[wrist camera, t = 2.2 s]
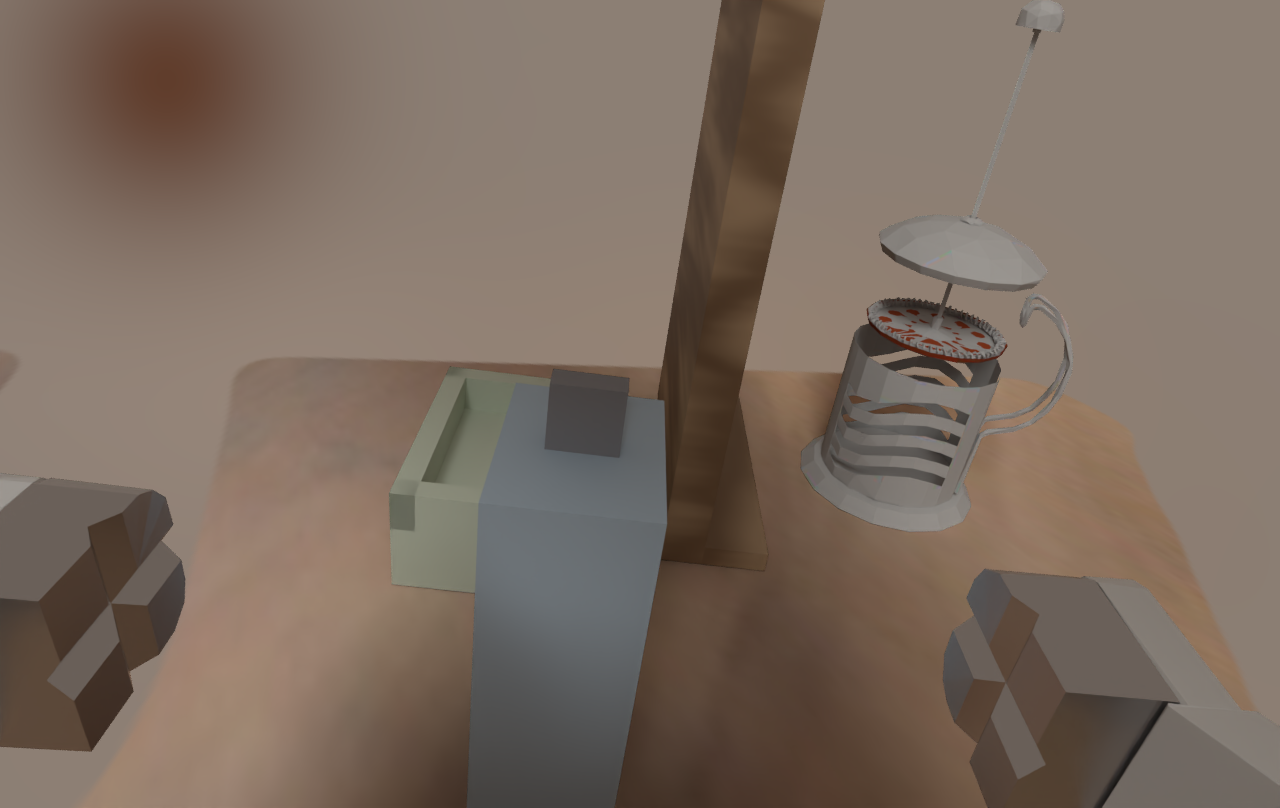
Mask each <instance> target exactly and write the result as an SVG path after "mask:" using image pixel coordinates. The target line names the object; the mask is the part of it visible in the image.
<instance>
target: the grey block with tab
mask: <svg viewBox="0 0 1280 808" xmlns="http://www.w3.org/2000/svg"><path fill="white" fill-rule="evenodd" d="M628 392H629V378H625V377H616V376H608V375H600V374H592V373H584V372H576V371H567V370H559V369H553V372H552V377H551V381H550V387H547V386H539V385H531V384H522V383H516V385H515V388H514V391H513V394H512V397H511V401H510V404H509V407H508V410H507V413H506V417H505V420H504V423H503V426H502V429H501V433H500V436H499V439H498V442H497V445H496V449H495V452H494V455H493V458H492V461H491V465H490V468H489V471H488V474H487V477H486V481H485V484H484V487H483V490H482V493H481V497H480V500H479V503H478V529H477V555H476V581H475V607H474V632H473V658H472V684H471V710H470V736H469V762H468V788H467V808H615V803H616V797H617V792H618V786H619V781H620V776H621V770H622V765H623V759H624V754H625V749H626V743H627V738H628V733H629V727H630V722H631V716H632V711H633V706H634V700H635V695H636V689H637V684H638V679H639V673H640V668H641V663H642V657H643V652H644V646H645V641H646V636H647V630H648V625H649V619H650V614H651V609H652V603H653V598H654V593H655V587H656V582H657V576H658V571H659V566H660V560H661V555H662V549H663V544H664V539H665V533H666V528H667V495H666V451H665V408H664V401H663V400H654V399H646V398H638V397H630V396H628Z"/></svg>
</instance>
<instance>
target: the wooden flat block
mask: <svg viewBox="0 0 1280 808" xmlns="http://www.w3.org/2000/svg"><path fill="white" fill-rule="evenodd" d="M824 2H825V0H722V2H721V8H720V14H719V21H718V27H717V33H716V39H715V45H714V51H713V57H712V64H711V70H710V76H709V82H708V88H707V95H706V101H705V107H704V113H703V119H702V125H701V131H700V138H699V144H698V150H697V157H696V162H695V168H694V175H693V181H692V187H691V193H690V200H689V206H688V212H687V218H686V224H685V230H684V237H683V243H682V249H681V255H680V261H679V267H678V273H677V280H676V286H675V292H674V298H673V304H672V311H671V317H670V323H669V329H668V335H667V342H666V347H665V354H664V360H663V366H662V372H661V378H660V384H659V391H658V400H663V401H664V408H665V451H666V495H667V528H666V533H665V539H664V544H663V549H662V555H661V560H670V561H679V562H688V563H697V564H706V565H715V566H724V567H733V568H742V569H751V570H760V571H764V570H765V566H766V562H767V559H768V555H769V554H768V549H767V544H766V538H765V533H764V528H763V522H762V517H761V512H760V506H759V501H758V496H757V490H756V485H755V480H754V474H753V469H752V463H751V458H750V453H749V447H748V442H747V437H746V431H745V426H744V421H743V415H742V410H741V405H740V399H739V391H740V386H741V381H742V377H743V372H744V368H745V363H746V359H747V354H748V349H749V345H750V340H751V336H752V331H753V326H754V322H755V317H756V313H757V308H758V303H759V299H760V295H761V290H762V285H763V281H764V276H765V272H766V267H767V263H768V258H769V253H770V249H771V244H772V239H773V235H774V231H775V226H776V221H777V217H778V212H779V207H780V203H781V198H782V194H783V190H784V185H785V180H786V176H787V171H788V167H789V162H790V158H791V153H792V148H793V144H794V139H795V135H796V130H797V125H798V121H799V116H800V112H801V107H802V102H803V98H804V94H805V89H806V85H807V80H808V75H809V71H810V66H811V62H812V57H813V52H814V48H815V43H816V39H817V34H818V30H819V25H820V21H821V16H822V12H823V7H824Z"/></svg>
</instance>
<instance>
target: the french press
mask: <svg viewBox="0 0 1280 808" xmlns="http://www.w3.org/2000/svg"><path fill="white" fill-rule="evenodd" d="M1063 23H1064V11H1063V9H1062V7H1061V5H1060V4H1058V3H1056V2H1053V1H1051V0H1033V1H1031V2H1030V3H1029V4H1027V5H1026V6H1025V7H1023V8H1022V10H1021V12H1020V15H1019V17H1018V20H1017V23H1016V25H1018V26H1023V27H1028V28H1033V32H1034V35H1033V38H1032V41H1031V44H1030V47H1029V50H1028V53H1027V56H1026V59H1025V61H1024V64H1023V67H1022V70H1021V73H1020V76H1019V79H1018V82H1017V85H1016V88H1015V91H1014V94H1013V96H1012V99H1011V102H1010V105H1009V108H1008V111H1007V114H1006V117H1005V120H1004V123H1003V126H1002V128H1001V131H1000V134H999V137H998V140H997V143H996V146H995V149H994V152H993V155H992V158H991V161H990V163H989V166H988V169H987V173H986V175H985V178H984V181H983V184H982V187H981V190H980V193H979V196H978V199H977V202H976V204H975V207H974V210H973V213H972V215H968V216H965V217H961V216H947V215H929V216H919V217H915V218H912V219H908V220H906V221H903V222H900V223H897V224H894V225H891V226H889V227H887V228H885V229H884V230H882V231H880V234H879V235H880V243H881V246H882V251H883V252H884V253H885V254H887V255H888V256H889V257H890V258H892V259H893V260H894V261H895V262H897V263H899V264H901V265H903V266H905V267H907V268H910V269H912V270H914V271H916V272H918V273H920V274H923V275H927V276H930V277H933V278H936V279H939V280H942V281H946V282H949V283H948V286H947V289H946V292H945V295H944V298H943V301H942V303H941V305H940V303H937V304H934V303H933V302H930V303H928V301H927V300H925V301H924V302H922V300H921V299H919V300H918V301H916V299H915V298H913V299H910V298H907V299H904V298H902V299H900V298H899V297H898V298H897V299H890V298H889V299H884V300H879V301H877V302H875V303H874V304H872V305H871V306H870V307H869V308H867V316H868V320H869V324H866V325H863V326H860V327H859V329H858V330H856V332H855V333H854V337H853V340H852V344H851V347H850V351H849V354H848V358H847V361H846V364H845V368H844V371H843V375H842V378H841V382H840V385H839V388H838V392H837V395H836V399H835V402H834V406H833V409H832V412H831V416H830V419H829V423H828V426H827V430H826V433H825V435H823V436H820V437H818V438H815V439H813V440H812V441H811V442H810V443H809V444H808V445H807V446H806V447H805V448H804V449H803V450H802V451H801V470H802V471H803V473H804V475H805V476H806V478H807V479H808V481H809V483H810V484H811V486H812V487H813V489H814V490H816V491H817V492H818V493H819V494H821V495H822V496H823V497H825V498H826V499H827V500H828V501H830V502H831V503H832V504H833V505H835V506H836V507H837V508H839V509H841V510H843V511H845V512H848V513H850V514H852V515H854V516H856V517H858V518H861V519H863V520H865V521H867V522H869V523H872V524H876V525H880V526H885V527H889V528H894V529H898V530H903V531H907V532H919V531H942V530H944V529H946V528H949V527H951V526H953V525H956V524H958V523H960V522H963V520H964V518H965V516H966V515H967V513H968V511H969V509H970V507H971V503H970V500H969V496H968V492H967V489H966V486H965V485H964V483H963V482H964V479H965V477H966V475H967V472H968V470H969V467H970V465H971V462H972V460H973V458H974V455H975V453H976V450H977V448H978V445H979V443H980V440H981V438H982V437H984V436H987V435H991V434H1000V433H1008V432H1014V431H1017V430H1019V429H1022V428H1024V427H1027V426H1029V425H1031V424H1034V423H1035V422H1036V421H1038V420H1039V419H1040V418H1042V417H1043V416H1044V415H1046V414H1047V413H1048V412H1049V411H1050V410H1051V409H1052V407H1053V406H1054V405H1055V404H1056V402H1057V401H1058V400H1059V399H1060V398H1061V396H1062V394H1063V391H1064V389H1065V387H1066V385H1067V382H1068V380H1069V378H1070V375H1071V373H1072V364H1073V353H1072V346H1071V340H1070V337H1069V330H1068V325H1067V323H1066V322H1065V320H1064V318H1063V317H1062V315H1061V313H1060V312H1059V311H1058V310H1057V309H1056V308H1055V307H1054V306H1053V305H1052V304H1051V303H1050V302H1049V301H1048V300H1047V299H1046V298H1045V297H1044V296H1043V295H1039V294H1032V295H1030V296H1029V297H1028V298H1026V301H1025V303H1024V306H1023V308H1022V311H1021V314H1020V325H1021V327H1022V328H1023V327H1025V326H1026V324H1027V322H1028V319H1029V318H1030V316H1031V314H1032V312H1033V310H1041V311H1042V312H1043V313H1044V314H1045V315H1046V316H1048V317H1049V318H1050V319H1051V320H1052V321H1053V322H1054V323H1055V324H1056V325H1057V327H1058V329H1059V331H1060V333H1061V335H1062V336H1063V338H1064V342H1065V348H1064V359H1063V361H1062V364H1061V367H1060V369H1059V372H1058V375H1057V377H1056V380H1055V382H1054V383H1053V384H1052V385H1051V386H1050V387H1049V388H1048V390H1047V391H1046V392H1045V393H1044V394H1043V395H1042V396H1041V397H1040V398H1039V399H1038V400H1036V401H1035V402H1034V403H1033V404H1032V405H1031V406H1030V407H1027V408H1025V409H1022V410H1019V411H1017V412H1014V413H1010V414H1001V415H992V416H987V417H985V415H986V412H987V410H988V407H989V405H990V402H991V400H992V397H993V395H994V392H995V390H996V387H997V385H998V382H999V380H1000V378H999V380H998V382H997V379H998V377H999V374H1000V372H1001V368H1000V366H999V363H998V360H996V359H997V358H998V357H999V356H1001V355H1002V354H1003V352H1004V351H1005V349H1006V348H1007V344H1006V342H1005V340H1004V338H1003V336H1002V334H1001V333H999V330H997V331H996V328H994V327H992V326H991V325H990V324H989V323H988V322H986V323H984V321H985V320H983V319H982V320H981V321H980V320H979V317H977V318H974V315H972V316H970V315H968V313H963V310H962V311H961V312H960V311H957V309H955V310H954V309H951V306H949V308H947V307H945V305H946V302H947V299H948V296H949V294H950V290H951V288H952V285H953V284H957V285H963V286H967V287H973V288H978V289H983V290H996V291H1012V292H1013V291H1020V290H1025V289H1032V288H1034V287H1035V286H1036V285H1037V284H1038V283H1039V282H1040V281H1041V280H1042V279H1043V278H1044V277H1045V275H1046V274H1047V272H1048V271H1047V270H1046V268H1045V267H1044V266H1043V264H1042V263H1041V262H1040V260H1039V259H1038V258H1037V256H1036V255H1035V253H1034V252H1033V251H1032V249H1031V248H1030V247H1028V246H1027V245H1025V244H1024V243H1022V242H1021V241H1019V240H1018V239H1016V238H1015V237H1013V236H1012V235H1011V234H1009V233H1007V232H1006V231H1005V230H1003V229H1002V228H1000V227H998V226H994V225H991V224H988V223H984V222H983V221H982V220H981V219H980V218H978V217H976V215H977V212H978V209H979V206H980V203H981V200H982V198H983V195H984V192H985V189H986V186H987V183H988V180H989V177H990V175H991V172H992V169H993V166H994V163H995V160H996V157H997V154H998V151H999V148H1000V146H1001V143H1002V140H1003V137H1004V134H1005V131H1006V128H1007V125H1008V122H1009V119H1010V116H1011V114H1012V111H1013V108H1014V105H1015V102H1016V99H1017V96H1018V93H1019V90H1020V87H1021V85H1022V82H1023V79H1024V76H1025V73H1026V70H1027V67H1028V64H1029V61H1030V58H1031V55H1032V53H1033V50H1034V47H1035V44H1036V41H1037V38H1038V35H1039V33H1040V32H1041V30H1047V31H1054V32H1060V31H1061V28H1062V26H1063ZM1033 299H1039V300H1041V301H1042V302H1043V303H1044V304H1045V305H1046V306H1048V307H1049V308H1050V309H1051V310H1052V311H1053V312H1054V314H1055V316H1056V317H1055V316H1054V315H1053V314H1052V313H1051V312H1050V311H1049V310H1048V309H1047V308H1046V307H1045V306H1044V305H1037V304H1034V305H1032V306H1031V307H1030V305H1031V302H1032V300H1033ZM932 303H933V304H932ZM907 349H908V350H910V351H913V352H916V353H918V354H921V355H924V356H918V357H912V358H907V359H902V360H899V361H895V362H890V363H886V364H879V363H878V362H876V361H874V360H872V359H871V358H869V357H868V356H871V357H872V356H878V355H884V354H890V353H894V352H899V351H903V350H907ZM925 356H926V357H925ZM944 360H947V361H952V362H956V363H965V364H966V365H967V367H968V368H969V369H970V370H971V372H972V373H973V377H972V379H971V382H970V384H969V382H968V381H967V380H966V378H965V377H964V376H963V375H962V373H961V372H960V371H959V370H957V369H956V368H954V367H953V366H951V365H950V364H948V363H947V362H946V361H944ZM910 367H922V368H930V369H938V370H940V371H941V372H942V373H944V374H945V375H947V376H948V377H950V378H951V379H952V380H954V381H955V382H956V383H957V384H958V386H959V387H951V386H945V385H943V384H942V383H941V382H939V381H938V380H936V379H935V378H929V377H923V376H917V375H912V376H905V375H903V374H900V373H897V372H895V371H897V370H901V369H906V368H910ZM1064 371H1065V375H1064V377H1063V379H1062V381H1061V383H1060V385H1059V386H1058V384H1059V382H1060V379H1061V378H1062V375H1063V373H1064ZM996 382H997V383H996ZM1057 386H1058V388H1057V390H1056V392H1055V394H1054V396H1053V398H1052V400H1051V402H1050V403H1049V404H1048V405H1047V406H1046V407H1045V408H1043V409H1042V410H1041V411H1040V412H1039V413H1038V414H1037V415H1036V416H1035V417H1034V418H1033V419H1031V420H1030V421H1028V422H1025V423H1023V424H1020V425H1017V426H1015V427H1007V428H997V429H987V430H985V431H983V432H981V433H979V431H980V429H981V427H982V425H983V424H984V423H985V422H987V421H995V420H1003V419H1011V418H1015V417H1018V416H1020V415H1023V414H1025V413H1028V412H1030V411H1033V410H1034V409H1035V408H1036V407H1037V406H1039V405H1040V404H1041V403H1042V402H1043V401H1044V400H1045V399H1047V398H1048V396H1049V395H1050V394H1051V393H1052V392H1053V391H1054V390H1055V388H1056V387H1057ZM848 396H859V397H862V398H865V399H868V400H871V401H869V402H864V403H858V404H852V403H851V401H850V399H849V397H848ZM901 404H909V405H914V406H920V407H925V408H926V409H928V410H929V411H930V412H932V413H933V414H934V415H929V414H911V413H905V412H899V413H894V414H873V413H871V412H868V411H872V410H876V409H880V408H885V407H889V406H895V405H901ZM938 404H939V405H943V406H946V407H950V408H954V410H955V411H956V412H957V414H958V416H957V418H956V421H953V419H952V418H951V417H950V415H949V414H948V413H947V411H946V410H945V409H943V408H942V407H941V406H939V405H938ZM843 414H848V415H849V417H850V418H852V419H855V420H857V421H852V422H844V419H843V417H842V416H843ZM935 415H936V416H935ZM984 417H985V418H984ZM940 430H943V431H947V432H950V433H951V434H950V437H949V439H948V440H947V439H946V437H945V436H944V435H943V433H942V432H941V431H940Z"/></svg>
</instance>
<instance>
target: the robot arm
mask: <svg viewBox="0 0 1280 808" xmlns="http://www.w3.org/2000/svg"><path fill="white" fill-rule="evenodd" d="M172 526H173V522H172V518H171V514H170V511H169V507H168V504H167V500H166V498H165V497H164V496H162V495H161V494H159V493H157V492H155V491H154V490H148V489H140V488H132V487H123V486H115V485H106V484H98V483H88V482H80V481H72V480H63V479H55V478H50V479H45V478H40V477H31V476H21V475H13V474H4V473H0V747H14V748H32V749H51V750H70V751H72V750H73V751H89V752H90V751H92V750H93V749H94V747H95V746H96V744H97V743H98V741H99V740H100V739H101V737H102V736H103V734H104V733H105V731H106V730H107V729H108V727H109V726H110V724H111V723H112V721H113V720H114V719H115V717H116V716H117V714H118V713H119V711H120V710H121V709H122V707H123V706H124V704H125V703H126V702H127V700H128V699H129V697H130V696H131V694H132V693H133V686H132V680H131V675H130V671H131V670H133V669H134V668H136V667H138V666H140V665H142V664H143V663H145V662H147V661H148V660H150V659H152V658H154V657H155V656H157V655H159V654H160V652H161V651H162V649H163V648H164V646H165V645H166V643H167V642H168V640H169V639H170V637H171V636H172V634H173V633H174V631H175V629H176V626H177V623H178V620H179V617H180V614H181V611H182V608H183V605H184V599H185V575H184V571H183V566H182V561H181V559H180V558H179V557H178V556H177V555H176V554H174V552H172V551H171V549H170V548H168V547H167V546H166V545H165V544H164V543H163V542H162V541H161V540H162V539H163V537H164V536H165V535H166V534H167V532H168V531H169V530H170V528H171V527H172ZM967 601H968V603H969V605H970V607H971V609H972V611H973V613H974V616H973V617H971V618H970V619H968V620H967V621H966V622H964V623H963V624H961V625H960V626H958V627H957V628H955V629H954V630H953V632H952V635H951V637H950V640H949V643H948V646H947V648H946V651H945V654H944V671H943V683H944V689H945V695H946V700H947V703H948V706H949V709H950V712H951V714H952V717H953V720H954V723H955V724H957V725H958V726H959V727H960V728H961V729H962V730H963V731H964V732H965V733H966V734H967V735H969V736H970V737H971V738H972V739H973V740H974V741H975V742H976V743H977V745H976V748H975V750H974V753H973V755H972V757H971V760H970V764H971V767H972V769H973V772H974V774H975V777H976V779H977V782H978V784H979V787H980V789H981V792H982V794H983V797H984V800H985V802H986V805H987V807H988V808H1280V726H1279V725H1277V724H1276V723H1274V722H1273V721H1271V720H1270V719H1268V718H1267V717H1265V716H1264V715H1262V714H1261V713H1259V712H1255V711H1245V710H1241V709H1240V707H1239V706H1238V705H1237V704H1236V702H1235V701H1234V700H1233V698H1232V697H1231V696H1230V694H1229V693H1228V692H1227V691H1226V689H1225V688H1224V687H1223V685H1222V684H1221V683H1220V682H1219V680H1218V679H1217V678H1216V676H1215V675H1214V674H1213V672H1212V671H1211V670H1210V669H1209V667H1208V666H1207V665H1206V663H1205V662H1204V661H1203V660H1202V658H1201V657H1200V656H1199V654H1198V653H1197V652H1196V650H1195V649H1194V648H1193V647H1192V645H1191V644H1190V643H1189V641H1188V640H1187V639H1186V638H1185V636H1184V635H1183V634H1182V632H1181V631H1180V630H1179V628H1178V627H1177V626H1176V625H1175V623H1174V622H1173V621H1172V619H1171V618H1170V617H1169V616H1168V614H1167V613H1166V612H1165V610H1164V609H1163V608H1162V606H1161V605H1160V604H1159V603H1158V601H1157V600H1156V599H1155V597H1154V596H1153V595H1152V594H1151V592H1150V591H1149V590H1148V589H1147V588H1146V587H1144V586H1142V585H1141V584H1139V583H1138V582H1136V581H1134V580H1128V579H1114V578H1100V577H1086V576H1084V577H1081V578H1079V577H1070V576H1059V575H1048V574H1036V573H1025V572H1014V571H1003V570H991V569H984V570H983V571H982V572H981V573H980V574H979V575H978V576H977V577H976V578H975V579H974V582H973V584H972V586H971V589H970V591H969V593H968V596H967Z"/></svg>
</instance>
